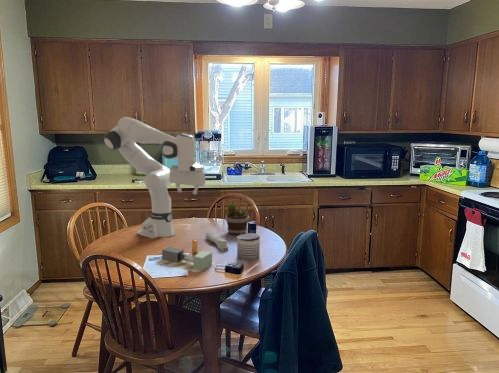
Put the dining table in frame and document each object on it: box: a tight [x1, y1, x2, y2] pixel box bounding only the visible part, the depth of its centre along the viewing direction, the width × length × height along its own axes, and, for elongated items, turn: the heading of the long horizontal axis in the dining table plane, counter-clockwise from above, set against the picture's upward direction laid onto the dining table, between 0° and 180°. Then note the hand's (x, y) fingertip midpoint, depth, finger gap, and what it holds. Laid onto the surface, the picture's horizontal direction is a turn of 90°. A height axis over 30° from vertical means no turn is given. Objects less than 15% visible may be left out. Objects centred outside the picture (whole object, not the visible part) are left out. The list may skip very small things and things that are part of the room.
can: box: [236, 232, 261, 261], centre depth 190 cm, size 11×11×12 cm
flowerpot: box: [224, 201, 250, 236], centre depth 229 cm, size 14×15×20 cm
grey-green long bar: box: [205, 232, 229, 252], centre depth 208 cm, size 5×7×25 cm
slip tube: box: [178, 239, 198, 262], centre depth 179 cm, size 16×3×11 cm, turn 63°
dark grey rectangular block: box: [161, 246, 185, 263], centre depth 184 cm, size 9×5×5 cm, turn 63°
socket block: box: [193, 250, 213, 272], centre depth 176 cm, size 5×8×6 cm, turn 153°
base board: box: [155, 259, 216, 274], centre depth 182 cm, size 25×14×1 cm, turn 63°
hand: (187, 193), depth 193 cm, fingers open, 8 cm apart
